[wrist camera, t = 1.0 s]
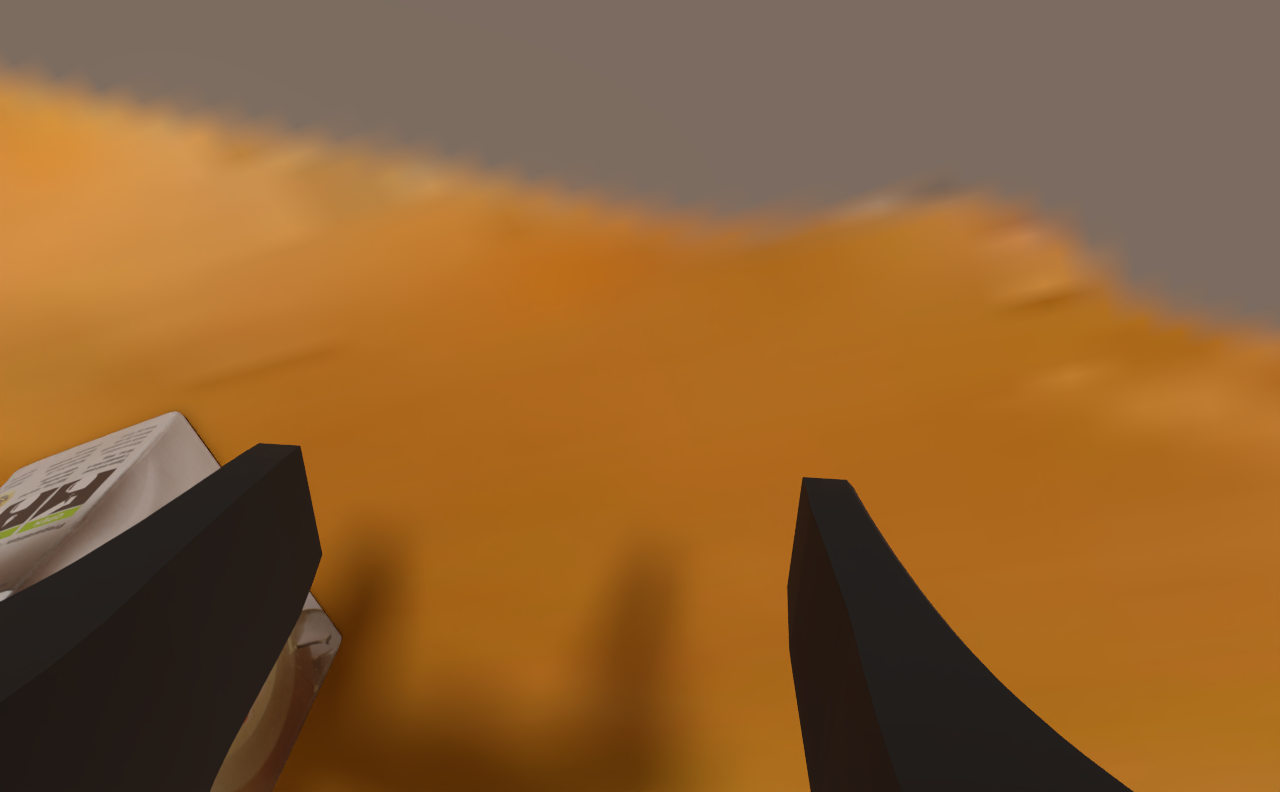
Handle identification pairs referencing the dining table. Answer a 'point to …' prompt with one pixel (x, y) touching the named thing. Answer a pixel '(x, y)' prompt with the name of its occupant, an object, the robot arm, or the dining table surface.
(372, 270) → the dining table surface
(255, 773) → the coffee box
